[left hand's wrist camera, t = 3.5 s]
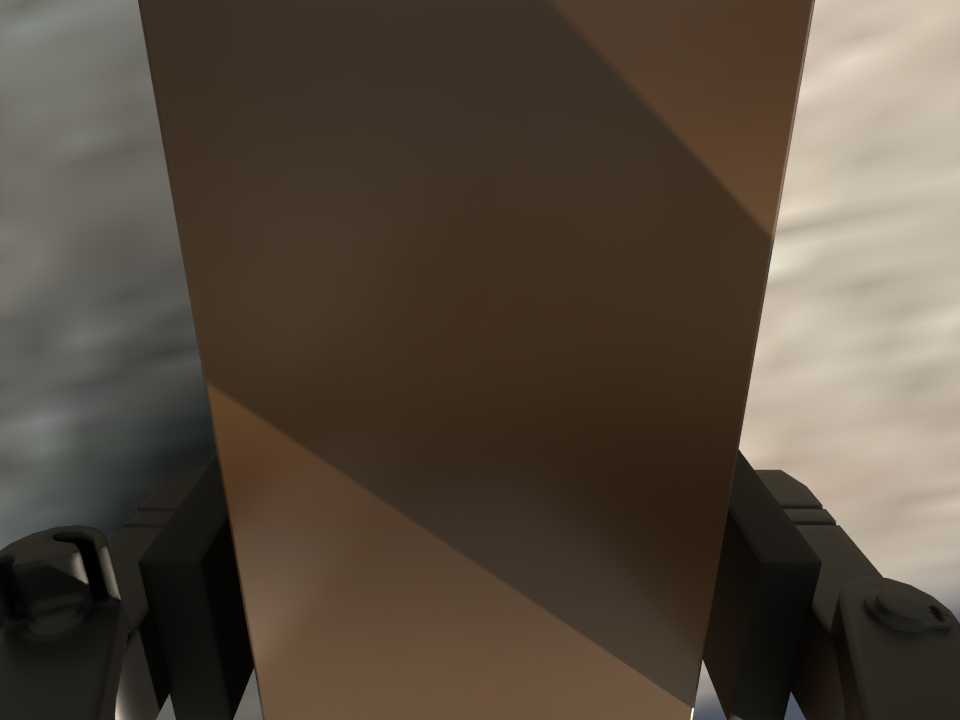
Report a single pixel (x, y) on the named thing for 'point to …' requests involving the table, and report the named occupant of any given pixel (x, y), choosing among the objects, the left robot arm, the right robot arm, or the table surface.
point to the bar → (477, 333)
